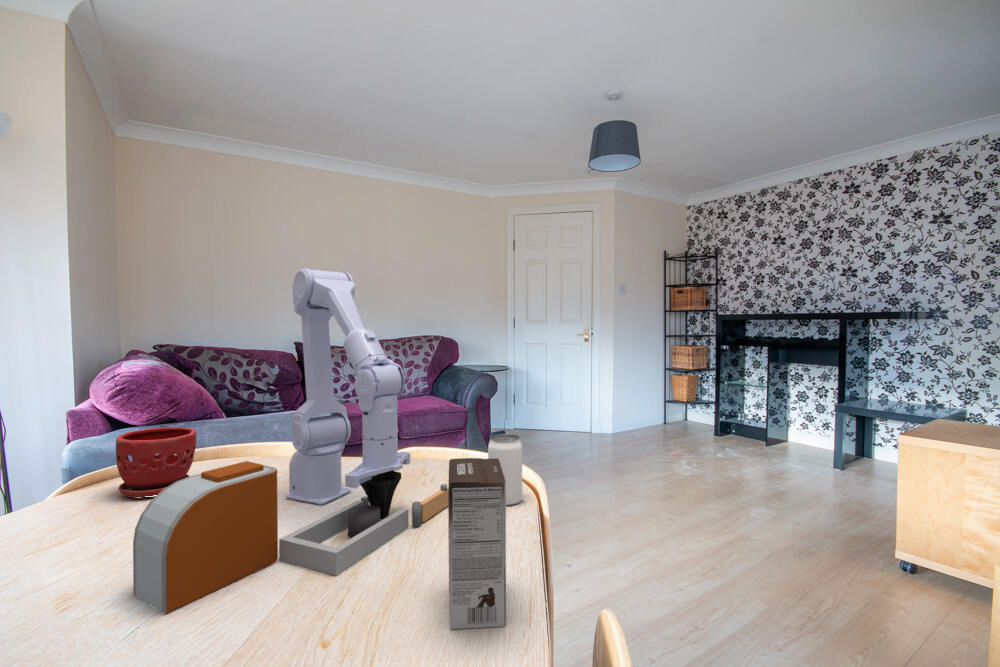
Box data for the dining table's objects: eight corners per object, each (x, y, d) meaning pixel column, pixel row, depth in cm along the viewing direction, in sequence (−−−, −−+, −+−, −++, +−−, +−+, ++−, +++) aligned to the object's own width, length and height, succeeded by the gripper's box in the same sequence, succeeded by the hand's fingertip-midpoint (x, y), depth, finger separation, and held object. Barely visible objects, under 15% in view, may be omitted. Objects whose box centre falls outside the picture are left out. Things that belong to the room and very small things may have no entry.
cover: (443, 503, 85) (443, 483, 85) (450, 504, 85) (449, 484, 85) (410, 525, 76) (410, 502, 76) (417, 527, 75) (417, 504, 75)
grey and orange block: (249, 545, 69) (248, 455, 69) (284, 559, 65) (283, 463, 65) (131, 594, 57) (130, 484, 57) (165, 615, 52) (164, 496, 52)
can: (519, 507, 84) (519, 441, 84) (484, 505, 85) (484, 440, 85) (524, 495, 90) (524, 434, 90) (492, 493, 91) (492, 432, 91)
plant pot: (115, 508, 84) (114, 443, 84) (117, 489, 94) (116, 431, 94) (200, 492, 92) (199, 433, 92) (193, 476, 103) (192, 423, 103)
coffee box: (449, 584, 58) (449, 457, 58) (500, 582, 59) (499, 456, 59) (447, 631, 49) (446, 481, 49) (507, 627, 50) (506, 479, 50)
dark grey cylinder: (340, 536, 72) (340, 514, 72) (363, 524, 77) (363, 503, 77) (365, 542, 70) (365, 519, 70) (387, 529, 75) (386, 507, 75)
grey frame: (279, 560, 65) (279, 537, 65) (364, 514, 81) (364, 496, 81) (336, 575, 61) (336, 551, 61) (413, 524, 77) (413, 504, 77)
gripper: (370, 449, 69) (371, 539, 69) (424, 429, 82) (424, 505, 82) (334, 444, 71) (335, 531, 72) (391, 426, 85) (392, 500, 85)
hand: (380, 517), depth 77 cm, fingers closed
